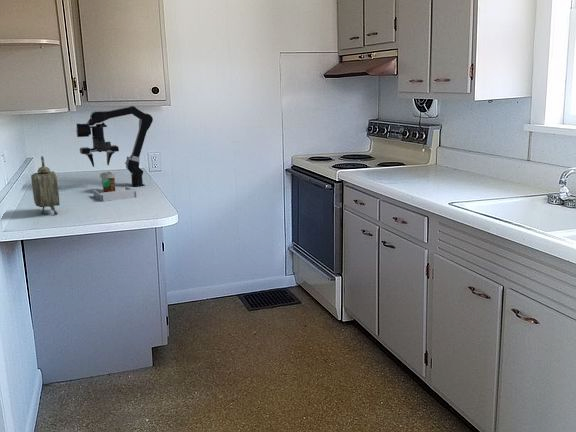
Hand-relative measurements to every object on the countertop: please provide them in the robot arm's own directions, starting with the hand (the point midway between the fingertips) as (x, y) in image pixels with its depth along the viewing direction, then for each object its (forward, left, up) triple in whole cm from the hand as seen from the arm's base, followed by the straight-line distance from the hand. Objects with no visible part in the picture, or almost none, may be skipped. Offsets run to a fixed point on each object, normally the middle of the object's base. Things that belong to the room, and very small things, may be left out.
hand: (100, 166), depth 300 cm
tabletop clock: (+42, -34, -12) cm, 55 cm away
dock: (+24, 0, -12) cm, 27 cm away
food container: (+10, 0, -12) cm, 16 cm away
